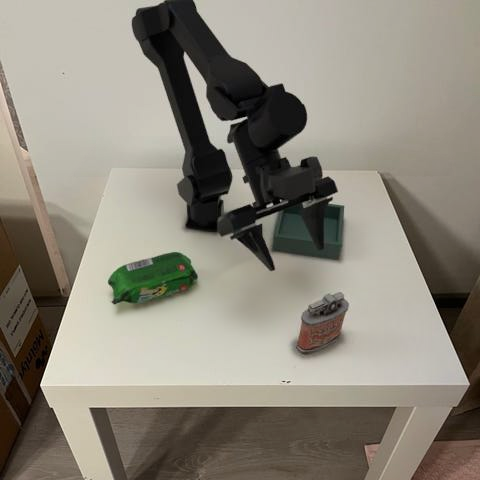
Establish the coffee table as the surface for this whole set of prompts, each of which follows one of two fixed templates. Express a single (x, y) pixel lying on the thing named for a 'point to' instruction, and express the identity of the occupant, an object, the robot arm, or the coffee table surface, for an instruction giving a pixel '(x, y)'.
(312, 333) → the lighter
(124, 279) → the snack package
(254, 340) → the coffee table surface
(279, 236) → the shallow open tray
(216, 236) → the coffee table surface
